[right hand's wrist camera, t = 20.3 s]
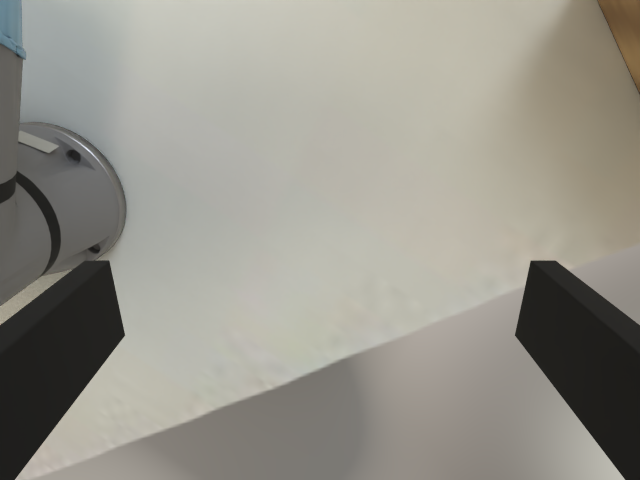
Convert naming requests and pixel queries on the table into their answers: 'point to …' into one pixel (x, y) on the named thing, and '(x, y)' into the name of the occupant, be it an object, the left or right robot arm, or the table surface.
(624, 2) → the box
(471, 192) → the table surface
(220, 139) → the table surface
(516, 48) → the table surface
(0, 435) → the right robot arm
